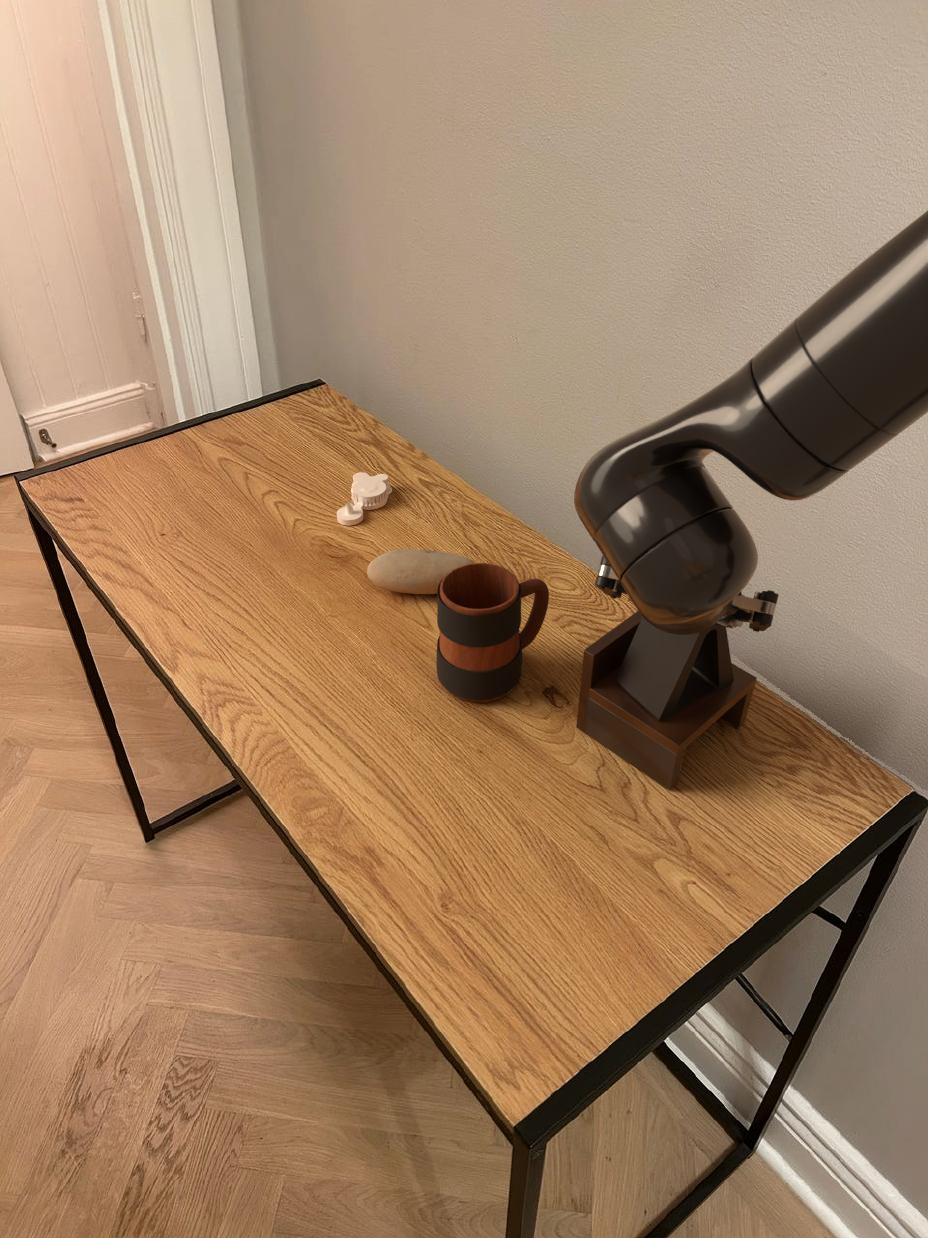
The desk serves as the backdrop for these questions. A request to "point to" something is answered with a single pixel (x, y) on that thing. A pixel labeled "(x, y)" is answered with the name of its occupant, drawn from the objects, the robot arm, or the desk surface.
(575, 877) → the desk surface
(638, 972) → the desk surface
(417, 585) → the stone
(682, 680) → the phone stand
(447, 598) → the mug
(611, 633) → the shelf
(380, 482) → the white rounded lumpy shapes
